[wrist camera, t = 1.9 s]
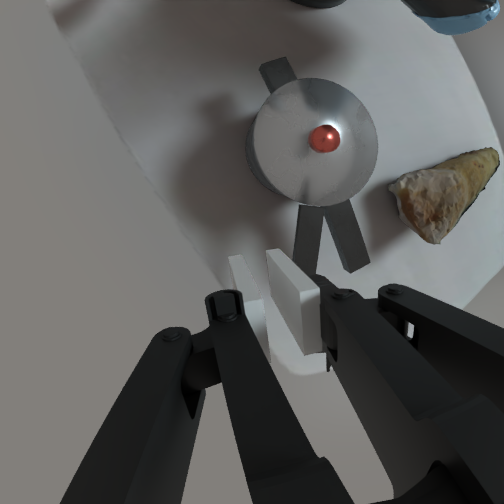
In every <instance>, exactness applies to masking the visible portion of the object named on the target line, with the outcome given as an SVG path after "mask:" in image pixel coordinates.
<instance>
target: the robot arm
mask: <svg viewBox="0 0 504 504" xmlns="http://www.w3.org/2000/svg"><path fill="white" fill-rule="evenodd" d="M291 1H293V2H296V3H299V4H302V5H305V6H310V7H316V8H329V7H334V6H337V5H340V4H342V3H343V2H345V1H346V0H291ZM401 1H402V2H403V3H404V4H405V5H406V6H408V7H409V8H410V9H411V10H412V12H413V13H414V14H415V15H416V16H417V17H419V18H421V19H422V20H423V21H424V22H425V23H427V24H428V25H429V26H430V27H431V28H432V29H433V30H434V31H436V32H438V33H441V34H444V35H458V34H463V33H467V32H470V31H473V30H475V29H478V28H480V27H482V26H484V25H485V24H487V21H490V20H493V19H494V18H495V17H496V16H497V15H498V13H499V11H500V5H499V2H498V0H401ZM266 257H267V266H268V274H269V282H270V291H271V297H272V298H273V300H274V302H275V304H276V306H277V307H278V309H279V311H280V313H281V315H282V317H283V318H284V320H285V322H286V324H287V326H288V327H289V329H290V331H291V333H292V335H293V336H294V338H295V340H296V342H297V344H298V345H299V347H300V349H301V351H302V353H303V354H304V356H305V355H309V354H313V353H317V352H321V351H322V339H323V341H324V342H325V344H326V366H327V372H329V371H330V367H331V365H332V367H333V370H334V371H335V373H336V375H337V377H338V379H339V381H340V383H341V384H342V386H343V388H344V390H345V392H346V394H347V396H348V398H349V400H350V402H351V404H352V406H353V408H354V409H355V412H356V413H357V415H358V417H359V419H360V421H361V423H362V425H363V427H364V429H365V431H366V433H367V435H368V437H369V439H370V441H371V443H372V445H373V447H374V449H375V451H376V453H377V455H378V456H379V459H380V461H381V462H382V465H383V466H384V469H385V471H386V473H387V475H388V477H389V479H390V481H391V483H392V485H393V490H394V499H392V500H386V501H382V502H376V503H371V504H504V328H501V327H499V326H497V325H495V324H492V323H490V322H488V321H486V320H484V319H481V318H479V317H477V316H474V315H472V314H470V313H468V312H465V311H463V310H461V309H458V308H456V307H454V306H452V305H449V304H447V303H445V302H442V301H440V300H438V299H435V298H433V297H431V296H428V295H426V294H424V293H421V292H419V291H416V290H414V289H412V288H409V287H407V286H404V285H398V284H388V285H385V286H383V287H381V288H379V290H378V298H373V299H364V298H363V297H362V296H361V295H360V294H359V293H358V292H356V291H354V290H352V289H339V288H337V287H336V286H335V285H334V284H333V283H332V282H330V281H329V280H328V279H327V278H326V277H324V276H321V275H318V274H315V275H310V276H307V275H306V274H305V273H304V272H303V271H302V270H301V269H300V268H299V267H298V266H297V265H296V264H295V263H294V262H293V261H292V260H291V259H290V258H289V257H287V256H286V255H285V254H284V253H283V252H282V251H281V250H280V249H279V248H277V249H271V250H266ZM228 258H229V265H230V271H231V278H232V284H233V290H230V289H228V290H220V291H217V292H214V293H211V294H209V295H208V296H207V297H206V298H205V304H206V309H207V314H208V319H209V324H210V326H209V327H208V328H207V329H205V330H204V331H202V332H200V333H197V334H194V335H191V333H190V331H189V330H188V329H187V328H184V327H169V328H167V329H163V330H162V331H160V332H159V333H157V334H156V335H155V336H154V337H153V339H152V340H151V342H150V344H149V345H148V347H147V349H146V350H145V352H144V354H143V355H142V357H141V359H140V360H139V362H138V364H137V366H136V367H135V369H134V371H133V372H132V374H131V376H130V377H129V379H128V381H127V382H126V384H125V386H124V387H123V389H122V391H121V393H120V394H119V396H118V398H117V399H116V401H115V403H114V405H113V406H112V408H111V410H110V412H109V414H108V415H107V417H106V419H105V420H104V422H103V424H102V426H101V428H100V429H99V431H98V433H97V435H96V436H95V438H94V440H93V442H92V444H91V446H90V448H89V449H88V451H87V453H86V455H85V457H84V459H83V460H82V462H81V464H80V466H79V468H78V470H77V472H76V473H75V475H74V477H73V479H72V481H71V483H70V485H69V487H68V489H67V491H66V492H65V494H64V496H63V498H62V500H61V502H60V504H181V500H182V496H183V491H184V487H185V482H186V477H187V474H188V469H189V465H190V460H191V456H192V452H193V447H194V443H195V439H196V434H197V429H198V426H199V421H200V417H201V413H202V409H203V404H204V400H205V396H206V391H205V388H208V387H211V386H213V385H216V384H219V383H221V382H222V385H223V390H224V394H225V398H226V402H227V407H228V410H229V415H230V419H231V423H232V427H233V431H234V435H235V439H236V443H237V447H238V450H239V454H240V458H241V462H242V465H243V469H244V473H245V477H246V481H247V485H248V488H249V492H250V495H251V499H252V502H253V504H354V502H353V500H352V499H351V497H350V495H349V494H348V492H347V490H346V489H345V487H344V485H343V483H342V482H341V480H340V479H339V477H338V475H337V473H336V471H335V470H334V468H333V466H332V465H331V464H330V462H329V461H328V460H327V459H326V458H325V457H321V458H319V457H318V456H317V455H316V454H315V452H314V450H313V448H312V446H311V444H310V442H309V441H308V439H307V437H306V435H305V433H304V431H303V429H302V427H301V425H300V423H299V422H298V419H297V417H296V416H295V414H294V412H293V410H292V408H291V406H290V404H289V402H288V400H287V398H286V396H285V394H284V392H283V390H282V388H281V386H280V384H279V382H278V380H277V378H276V376H275V374H274V372H273V370H272V368H271V366H270V364H269V363H271V359H270V351H269V343H268V335H267V327H266V319H265V312H264V304H263V298H262V296H261V294H260V292H259V290H258V288H257V285H256V283H255V281H254V279H253V277H252V275H251V273H250V271H249V268H248V266H247V264H246V262H245V260H244V258H243V256H242V254H240V255H234V256H228ZM409 322H410V323H411V324H413V325H414V333H413V338H410V337H408V336H407V333H408V323H409Z"/></svg>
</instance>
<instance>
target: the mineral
mask: <svg viewBox="0 0 504 504" xmlns="http://www.w3.org/2000/svg"><path fill="white" fill-rule="evenodd" d="M499 165H500V161H499V154H498V152H497V151H496V150H494V149H493V148H492V147H490V148H486V147H485V148H484V149H480V150H477V151H471V152H465V153H462V154H460V155H459V157H458V158H456V159H451V160H447V161H445V162H443V163H440V164H439V165H436V166H435V167H434V168H432V169H428V170H424V169H421V170H417V171H413V172H409V173H406V174H403V175H402V176H401V177H400V178H397V182H396V183H395V184H389V189H388V190H389V191H391V192H392V193H394V194H395V196H396V198H397V206H398V209H399V212H400V213H399V218H400V219H401V220H402V221H403V222H404V223H405V224H406V225H407V226H408V227H410V228H411V229H412V230H413V231H414V232H416V233H417V234H418V235H419V236H420V237H421V238H422V239H423V240H425V241H426V242H427V243H431V244H440V241H441V240H442V239H443V238H444V237H445V236H446V235H447V234H448V233H449V232H450V231H451V230H452V229H453V228H454V227H455V226H456V224H457V223H458V221H459V220H460V218H461V216H462V215H463V214H464V213H465V212H466V211H467V210H468V209H469V207H470V206H471V205H472V204H473V203H474V201H475V200H476V198H477V197H478V195H479V193H480V192H481V191H483V190H484V189H485V186H486V184H487V183H488V181H489V180H490V178H491V177H492V176H493V174H494V173H495V172H496V171H497V168H498V167H499Z"/></svg>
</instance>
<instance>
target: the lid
mask: <svg viewBox="0 0 504 504" xmlns="http://www.w3.org/2000/svg"><path fill="white" fill-rule="evenodd" d="M253 149H254V154H255V158H256V160H257V163H258V166H259V168H260V169H261V171H262V173H263V175H264V176H265V178H266V179H267V180H268V182H269V183H270V184H271V185H272V186H273V187H274V188H275V189H276V190H278V191H279V192H280V193H282V194H283V195H285V196H286V197H288V198H290V199H292V200H294V201H297V202H300V203H303V204H307V205H299V209H298V218H297V226H296V235H295V243H294V251H293V259H292V261H293V262H294V263H295V264H296V265H297V266H298V267H299V268H300V269H301V270H302V271H303V272H304V273H305V274H306V275H307V276H310V275H315V274H316V267H317V261H318V254H319V246H320V239H321V232H322V224H323V216H324V207H317V206H330V205H334V204H338V203H341V202H344V201H346V200H348V199H349V198H351V197H353V196H354V195H355V194H357V193H358V192H359V191H360V190H361V189H362V188H363V187H364V186H365V184H366V183H367V182H368V180H369V178H370V177H371V175H372V173H373V170H374V168H375V164H376V161H377V154H378V140H377V133H376V129H375V126H374V123H373V120H372V118H371V116H370V114H369V112H368V111H367V109H366V108H365V106H364V105H363V104H362V102H361V101H360V100H359V99H358V98H357V97H356V96H355V95H354V94H353V93H351V92H350V91H349V90H347V89H346V88H344V87H342V86H341V85H339V84H336V83H334V82H331V81H328V80H324V79H318V78H306V79H299V80H295V81H292V82H289V83H287V84H285V85H283V86H281V87H280V88H278V89H277V90H276V91H275V92H273V93H272V94H271V95H270V96H269V98H268V99H267V100H266V101H265V102H264V104H263V105H262V107H261V108H260V110H259V112H258V114H257V117H256V120H255V123H254V128H253ZM308 205H313V206H308ZM317 353H326V344H325V342H324V341H323V339H322V351H321V352H317Z"/></svg>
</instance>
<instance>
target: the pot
mask: <svg viewBox="0 0 504 504" xmlns="http://www.w3.org/2000/svg"><path fill="white" fill-rule="evenodd" d="M259 71H260V73H261V75H262V77H263V79H264V81H265V83H266V85H267V87H268V89H269V91H270V93H271V94H272V93H273V92H275V91H276V90H277V89H278V88H280V87H281V86H283V85H285V84H287V83H289V82H292V81H295V80H298V79H297V77H296V76H295V74H294V72H293V70H292V68H291V66H290V64H289V62H288V60H287V58H286V57H283V58H279V59H276V60H273V61H270V62H267V63H264V64H261V66H260V68H259ZM255 120H256V119H255ZM255 120H254V122H253V123H252V125H251V127H250V129H249V131H248V134H247V138H246V157H247V161H248V164H249V167H250V169H251V171H252V172H253V174H254V175H255V177H256V178H257V179H258V180H259V181H260V183H261V184H263V185H264V186H265V187H266V188H268V189H270V190H271V191H273V192H275V193H278V194H281V195H283V194H282V193H280V192H279V191H278V190H276V189H275V188H274V187H273V186H272V185H271V184H270V183H269V182H268V180H267V179H266V178H265V176H264V175H263V173H262V171H261V169H260V168H259V166H258V163H257V160H256V158H255V154H254V149H253V128H254V123H255ZM321 207H324V217H325V219H326V222H327V224H328V227H329V230H330V232H331V235H332V238H333V240H334V243H335V246H336V248H337V251H338V254H339V257H340V259H341V262H342V265H343V268H344V269H345V270H346V271H347V272H349V273H350V274H351V273H353V272H354V271H356V270H358V269H360V268H362V267H364V266H365V265H367V264H369V263H371V262H370V259H369V256H368V253H367V250H366V246H365V243H364V240H363V237H362V234H361V231H360V228H359V225H358V222H357V220H356V217H355V214H354V211H353V208H352V205H351V203H350V200H349V199H348V200H346V201H344V202H341V203H338V204H334V205H330V206H321Z"/></svg>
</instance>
